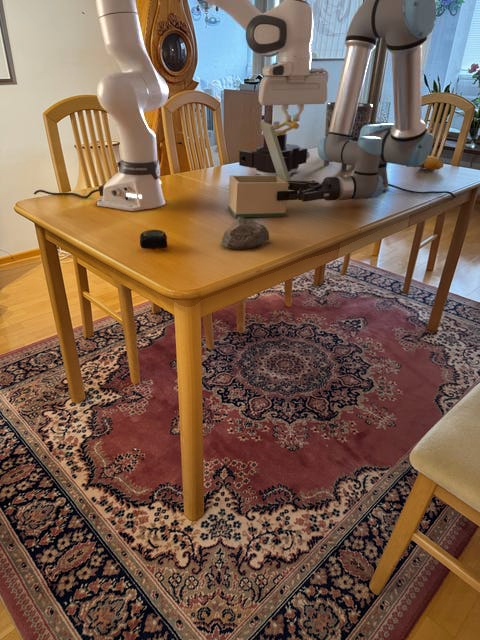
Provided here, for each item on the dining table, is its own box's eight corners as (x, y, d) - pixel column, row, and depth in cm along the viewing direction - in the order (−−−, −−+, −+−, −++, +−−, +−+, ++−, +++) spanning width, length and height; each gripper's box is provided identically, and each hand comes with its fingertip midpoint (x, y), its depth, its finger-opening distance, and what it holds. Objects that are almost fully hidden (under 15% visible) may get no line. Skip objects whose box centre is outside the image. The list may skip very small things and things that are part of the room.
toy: (417, 163, 202) (411, 156, 215) (419, 177, 205) (413, 169, 218) (444, 155, 199) (436, 148, 211) (446, 170, 202) (438, 162, 214)
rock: (255, 233, 128) (256, 211, 124) (276, 242, 122) (278, 219, 119) (217, 244, 120) (217, 220, 117) (239, 254, 115) (239, 230, 111)
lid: (269, 127, 129) (297, 114, 129) (259, 122, 138) (285, 110, 138) (287, 181, 138) (312, 169, 139) (276, 174, 147) (301, 162, 147)
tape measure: (140, 252, 115) (139, 238, 113) (141, 242, 120) (140, 229, 119) (167, 251, 116) (166, 237, 114) (167, 241, 121) (166, 228, 120)
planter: (313, 167, 208) (319, 103, 195) (331, 160, 222) (338, 101, 209) (353, 173, 199) (362, 107, 185) (369, 166, 213) (379, 104, 199)
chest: (235, 217, 140) (237, 183, 135) (228, 208, 148) (229, 175, 143) (285, 216, 144) (288, 182, 139) (275, 207, 152) (278, 175, 147)
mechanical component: (240, 120, 182) (283, 115, 202) (239, 174, 192) (280, 164, 212) (283, 126, 170) (325, 120, 190) (280, 183, 180) (320, 171, 200)
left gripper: (324, 67, 133) (320, 119, 140) (257, 68, 129) (256, 121, 136) (333, 68, 127) (328, 121, 134) (263, 69, 123) (262, 123, 130)
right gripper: (324, 169, 156) (262, 171, 152) (353, 185, 137) (284, 188, 133) (322, 191, 160) (261, 194, 156) (350, 209, 141) (282, 213, 137)
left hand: (292, 121), depth 135 cm, fingers closed, pressing on lid
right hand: (272, 191), depth 144 cm, fingers closed on chest, 10 cm apart
